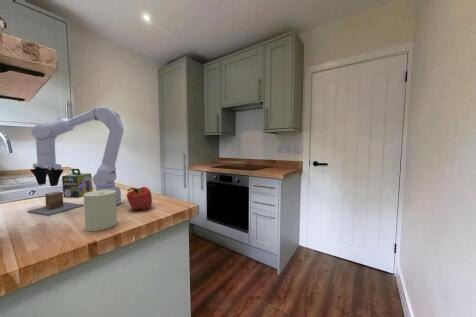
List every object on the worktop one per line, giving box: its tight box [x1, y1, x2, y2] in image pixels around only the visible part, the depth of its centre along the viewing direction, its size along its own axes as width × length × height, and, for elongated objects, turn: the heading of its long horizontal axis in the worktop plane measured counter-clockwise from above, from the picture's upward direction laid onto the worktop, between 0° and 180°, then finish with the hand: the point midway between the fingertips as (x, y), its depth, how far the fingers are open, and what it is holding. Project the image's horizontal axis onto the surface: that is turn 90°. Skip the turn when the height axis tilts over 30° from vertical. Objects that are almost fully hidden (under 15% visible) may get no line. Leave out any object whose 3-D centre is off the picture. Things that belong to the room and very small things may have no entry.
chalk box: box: [61, 168, 94, 198], centre depth 106 cm, size 9×9×15 cm
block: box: [44, 190, 64, 210], centre depth 83 cm, size 3×4×6 cm, turn 163°
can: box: [82, 190, 118, 232], centre depth 67 cm, size 9×9×12 cm
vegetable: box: [126, 186, 153, 211], centre depth 84 cm, size 11×10×10 cm
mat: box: [26, 201, 84, 217], centre depth 84 cm, size 13×13×1 cm
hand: (47, 185), depth 84 cm, fingers open, 7 cm apart
